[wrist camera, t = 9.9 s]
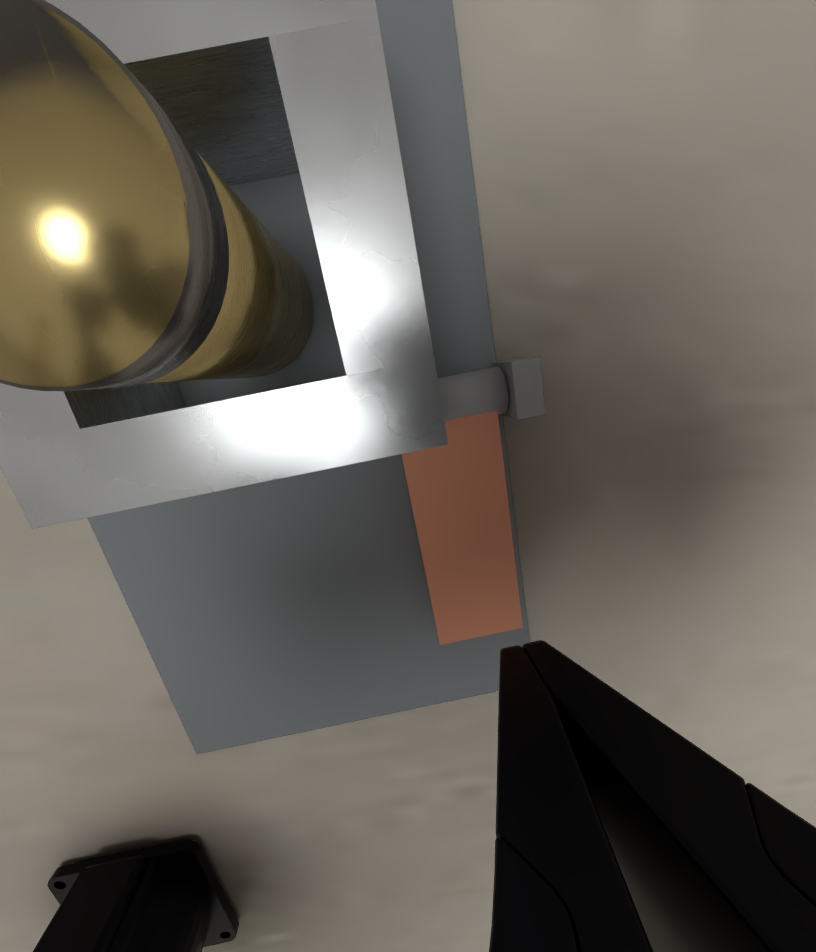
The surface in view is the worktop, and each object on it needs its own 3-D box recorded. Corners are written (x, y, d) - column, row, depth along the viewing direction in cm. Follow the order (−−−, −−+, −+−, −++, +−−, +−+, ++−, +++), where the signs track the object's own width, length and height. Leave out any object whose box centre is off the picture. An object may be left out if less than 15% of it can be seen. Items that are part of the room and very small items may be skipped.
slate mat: (547, 671, 16) (572, 717, 14) (201, 745, 16) (173, 802, 14) (473, -8, 10) (498, -108, 8) (-92, 99, 10) (-221, 25, 8)
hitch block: (425, 418, 12) (448, 444, 8) (151, 473, 12) (32, 528, 8) (364, 75, 10) (352, -139, 6) (19, 141, 10) (-253, -29, 6)
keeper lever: (378, 388, 12) (378, 392, 11) (491, 365, 12) (505, 367, 11) (427, 624, 15) (432, 650, 13) (519, 605, 15) (533, 629, 13)
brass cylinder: (340, 340, 11) (260, 298, 5) (223, 402, 12) (-6, 445, 5) (266, 197, 10) (31, -118, 4) (140, 270, 11) (-279, 105, 4)
